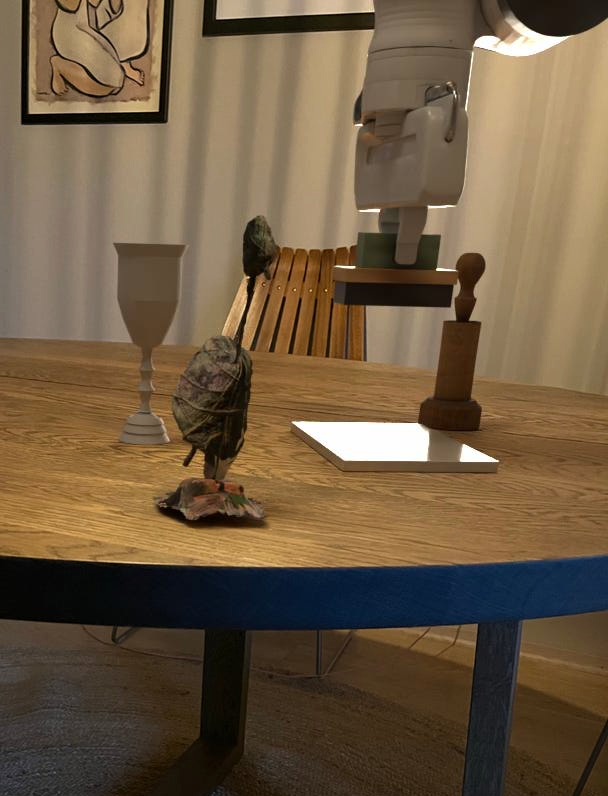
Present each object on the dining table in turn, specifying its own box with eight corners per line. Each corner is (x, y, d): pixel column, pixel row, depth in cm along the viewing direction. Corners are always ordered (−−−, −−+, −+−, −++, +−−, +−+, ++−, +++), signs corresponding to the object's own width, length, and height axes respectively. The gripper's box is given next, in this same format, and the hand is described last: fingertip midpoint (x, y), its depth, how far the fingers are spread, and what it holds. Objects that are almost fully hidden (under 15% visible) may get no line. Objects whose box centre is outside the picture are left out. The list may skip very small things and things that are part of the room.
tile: (419, 433, 109) (421, 423, 109) (497, 472, 91) (499, 461, 90) (290, 431, 108) (291, 421, 108) (342, 471, 90) (343, 460, 89)
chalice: (145, 449, 97) (152, 243, 90) (93, 439, 101) (96, 242, 94) (194, 440, 102) (204, 245, 95) (143, 431, 106) (149, 243, 99)
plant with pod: (253, 493, 81) (273, 218, 74) (273, 531, 70) (299, 214, 63) (150, 490, 81) (160, 214, 73) (154, 528, 70) (166, 210, 63)
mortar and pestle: (408, 425, 114) (430, 251, 107) (429, 418, 119) (451, 251, 112) (468, 433, 110) (495, 253, 104) (486, 425, 115) (513, 253, 109)
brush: (437, 304, 98) (446, 234, 96) (454, 308, 94) (464, 235, 92) (330, 301, 97) (337, 231, 95) (342, 305, 93) (349, 231, 91)
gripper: (498, 78, 80) (473, 267, 85) (412, 109, 99) (396, 262, 104) (419, 75, 80) (398, 265, 85) (348, 107, 99) (334, 260, 104)
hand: (396, 263), depth 94 cm, fingers closed on brush, 2 cm apart
